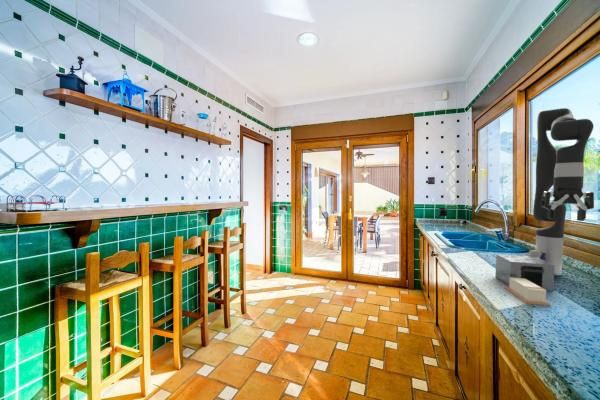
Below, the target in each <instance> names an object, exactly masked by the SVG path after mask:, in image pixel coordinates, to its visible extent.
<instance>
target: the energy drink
mask: <svg viewBox="0 0 600 400" xmlns="http://www.w3.org/2000/svg"><path fill="white" fill-rule="evenodd" d="M529 256H530V257H537V258H539V259H542V260H544V261H546V252H545V251H540V250H536V249H530V250H529Z"/></svg>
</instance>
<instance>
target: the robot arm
mask: <svg viewBox="0 0 600 400" xmlns="http://www.w3.org/2000/svg"><path fill="white" fill-rule="evenodd" d="M537 114H538V115H537V118H536V134H537V135H536V137H537V142H536V144H537V147H536V160H535V161H536V163H535V191H534V192H535V194H534V202H533V209H532V210H533V211H532V216H533V219H534V220H535V221H538V222H549V223H550V222H551V223H554V224H553V225H550V226H547V227H542V228H541V227H540V228H537V229H536V233H535V236H536V237H535V250H540V251H545V252H546V262H549V263H551V264H554V265H555V268H554V276H562V272H563V271H562V270H563V255H564V254H563V253H564V251H563V250H564V236H565V233H564V232H565V221H566V214H567V207H566V205H567V204H569V205H573V206H575V207H576V208H577V212H576V213H577V214H576V219H577V221H579V222H581V221H582V222H584V221H585V220H586V218H587V211H588V210H593V209H594V208H595V193H594V192H593V191H584V192H583V188H584V179H585V178H584V177H585V175H584V174H585V167H584V166H585V165H584V161H585V160H584V159H585V158H584V157H585V149H586V146H587V144H588V141H589V139H590V137H591V134H592V132H593V131H594V123H593V121H592V120H591V119H589V118H581V119H576V117H574V115H573V111H571V108H570V109H569V108H566V107H564V108H556V109H549V110H548V109H547V110H541V111H540V112H539V113H537ZM549 131H550V137H551V139H552V140H554V141H557V142H561V141H575V143H574V144H572V145H569V146H563V147H560V148H556V147H555V146H554V145H553V143H552V142H551V140H550V139H549V136H548V133H547V132H549ZM552 187H553V191H551V192H550V191H549V190H551V188H552ZM552 197H553V199H552V200H551V198H552ZM582 197H583V199H584V200H582V199H581V198H582ZM583 201H584V202H583Z"/></svg>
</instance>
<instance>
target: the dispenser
mask: <svg viewBox="0 0 600 400" xmlns="http://www.w3.org/2000/svg"><path fill="white" fill-rule="evenodd" d="M495 258H496V262H495V278H496V279H498V280H499V281H500V282H502V283H504V284H505V286H509V281H510V277H513V278H525V279H527V280H529V281H530V282H532V283H534V284H536V285H537V286H539V287H541V288H543V289H545V290H546V292H547V291H549V292H550V291H551V292H553V291H554V283H555V282H554V280H555V275H554V268H555V265H554V264H551V263H549V262H546V261H544V260H542V259H539V258H537V257H530V256H527V255H514V254H513V255H512V254H499V253H497V254H496V257H495Z"/></svg>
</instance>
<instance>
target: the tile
mask: <svg viewBox="0 0 600 400" xmlns="http://www.w3.org/2000/svg"><path fill="white" fill-rule="evenodd" d="M504 289H506V290H508V291H509V293H511V294H513V295H514V296H515V297H517V298H518V299H519V300H520V301H522V302H524V303H525V304H530V305H539V306H549V307H551V306H552V303H550V302H549V301H547V300H546V302H540V301H530V300H527V299H526V298H524V297H523V296H521V295H520V294H518V293H517V292H515V291H514V290H512V289H511V288H509V286H508V285H505V286H504Z"/></svg>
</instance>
